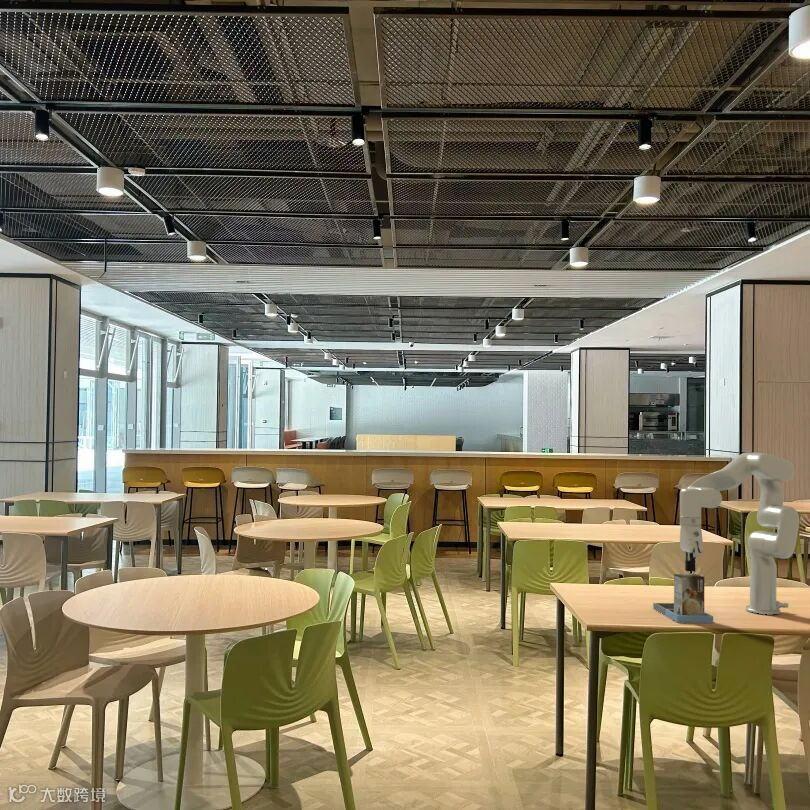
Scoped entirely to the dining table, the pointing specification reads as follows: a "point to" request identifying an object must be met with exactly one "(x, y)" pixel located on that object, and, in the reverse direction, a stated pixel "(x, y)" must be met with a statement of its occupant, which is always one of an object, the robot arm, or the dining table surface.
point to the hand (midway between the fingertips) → (690, 570)
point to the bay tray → (668, 611)
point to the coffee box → (689, 594)
